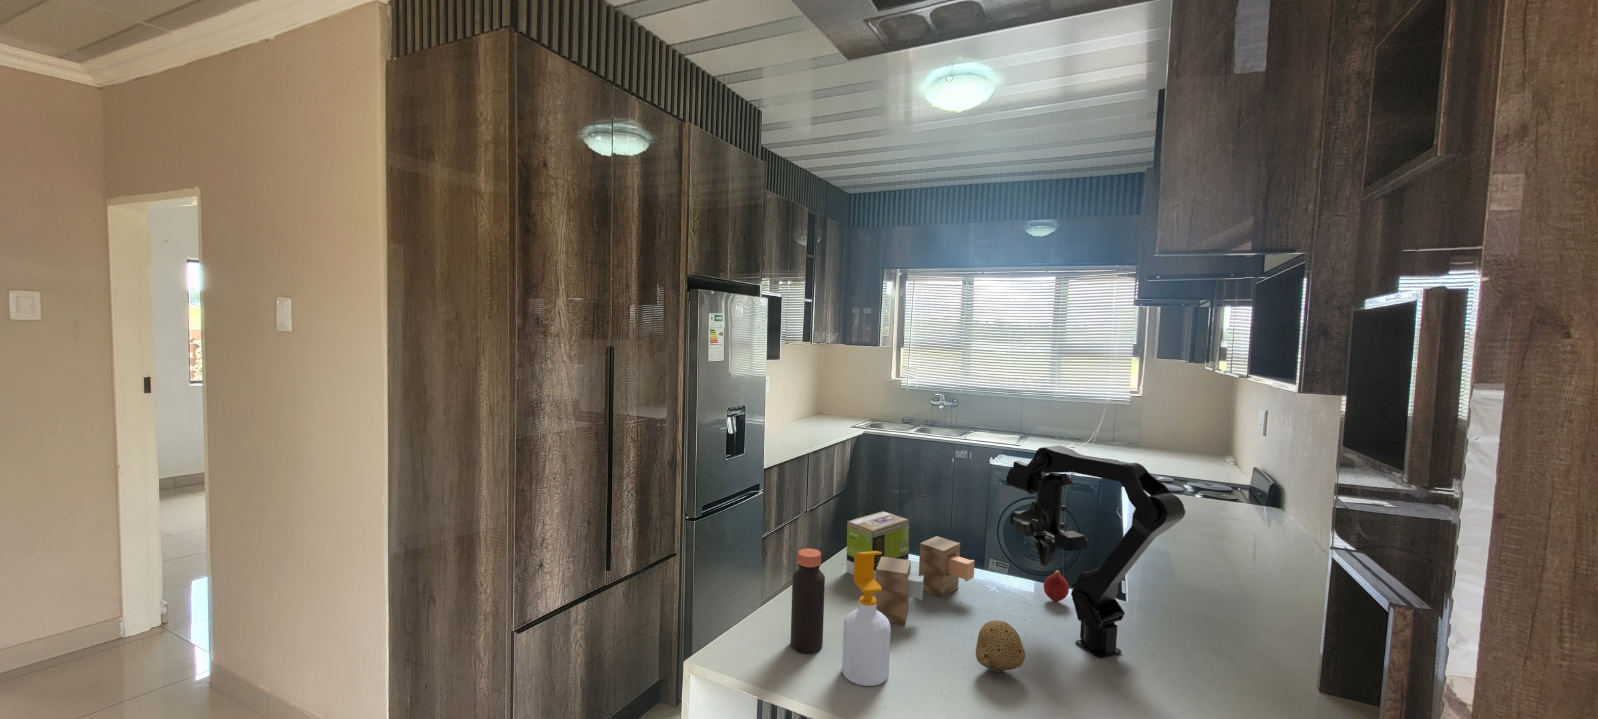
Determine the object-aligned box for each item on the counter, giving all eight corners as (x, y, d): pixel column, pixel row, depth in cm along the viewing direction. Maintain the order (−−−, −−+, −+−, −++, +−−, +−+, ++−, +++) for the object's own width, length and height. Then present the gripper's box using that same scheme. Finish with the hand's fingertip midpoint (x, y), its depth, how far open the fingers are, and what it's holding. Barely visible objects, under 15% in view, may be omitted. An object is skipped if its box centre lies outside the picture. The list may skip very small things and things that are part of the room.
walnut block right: (958, 588, 156) (960, 543, 155) (941, 597, 150) (944, 550, 150) (934, 579, 161) (936, 535, 160) (918, 588, 155) (920, 543, 155)
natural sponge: (1032, 673, 118) (1034, 624, 118) (1010, 691, 112) (1012, 640, 111) (989, 654, 125) (992, 607, 124) (967, 670, 119) (969, 621, 118)
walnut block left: (908, 609, 144) (910, 560, 143) (905, 625, 136) (907, 573, 135) (879, 604, 146) (881, 556, 145) (874, 619, 138) (876, 569, 137)
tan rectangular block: (973, 577, 150) (974, 560, 150) (967, 581, 148) (967, 563, 148) (946, 568, 156) (947, 551, 155) (940, 571, 153) (940, 554, 153)
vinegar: (825, 640, 128) (828, 548, 127) (818, 656, 122) (821, 560, 121) (795, 634, 130) (798, 544, 129) (786, 650, 124) (789, 556, 123)
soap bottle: (851, 690, 111) (856, 560, 110) (835, 663, 120) (839, 542, 118) (896, 684, 113) (901, 557, 112) (877, 657, 122) (882, 539, 121)
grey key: (923, 593, 140) (923, 575, 140) (921, 600, 137) (922, 581, 137) (890, 588, 142) (891, 570, 142) (888, 595, 139) (889, 576, 139)
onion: (1064, 609, 146) (1066, 577, 145) (1040, 602, 149) (1041, 571, 149) (1070, 601, 150) (1072, 570, 150) (1046, 594, 154) (1048, 564, 154)
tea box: (882, 559, 174) (884, 509, 173) (909, 571, 166) (911, 519, 165) (844, 572, 164) (846, 519, 163) (871, 585, 157) (873, 529, 156)
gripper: (994, 490, 145) (989, 553, 146) (1052, 516, 127) (1046, 587, 128) (1030, 487, 149) (1026, 548, 150) (1091, 511, 131) (1086, 580, 132)
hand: (1044, 565), depth 140 cm, fingers closed
